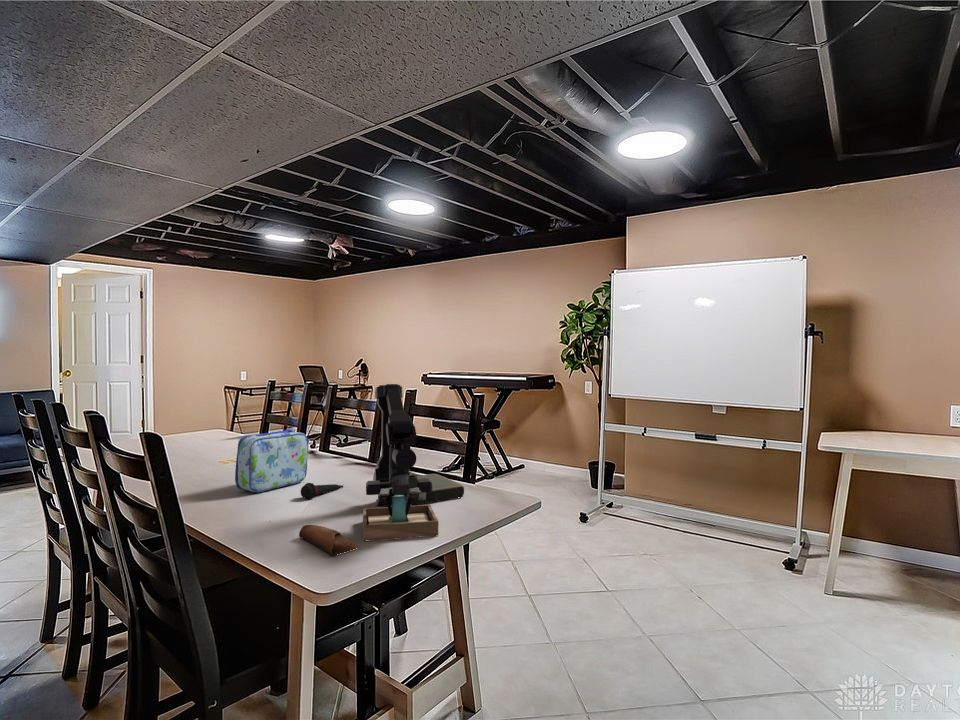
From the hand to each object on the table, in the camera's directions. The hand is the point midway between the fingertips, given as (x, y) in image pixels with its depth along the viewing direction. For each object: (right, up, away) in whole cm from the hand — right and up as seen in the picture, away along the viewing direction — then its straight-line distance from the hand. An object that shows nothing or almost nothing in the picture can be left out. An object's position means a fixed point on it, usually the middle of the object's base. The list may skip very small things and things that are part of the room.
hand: (398, 515), depth 144 cm
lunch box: (-54, -3, +42) cm, 68 cm away
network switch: (+4, -4, +34) cm, 34 cm away
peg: (0, -2, 0) cm, 2 cm away
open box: (0, -3, -2) cm, 4 cm away
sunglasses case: (-16, -4, -14) cm, 21 cm away
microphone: (-32, -3, +33) cm, 46 cm away
